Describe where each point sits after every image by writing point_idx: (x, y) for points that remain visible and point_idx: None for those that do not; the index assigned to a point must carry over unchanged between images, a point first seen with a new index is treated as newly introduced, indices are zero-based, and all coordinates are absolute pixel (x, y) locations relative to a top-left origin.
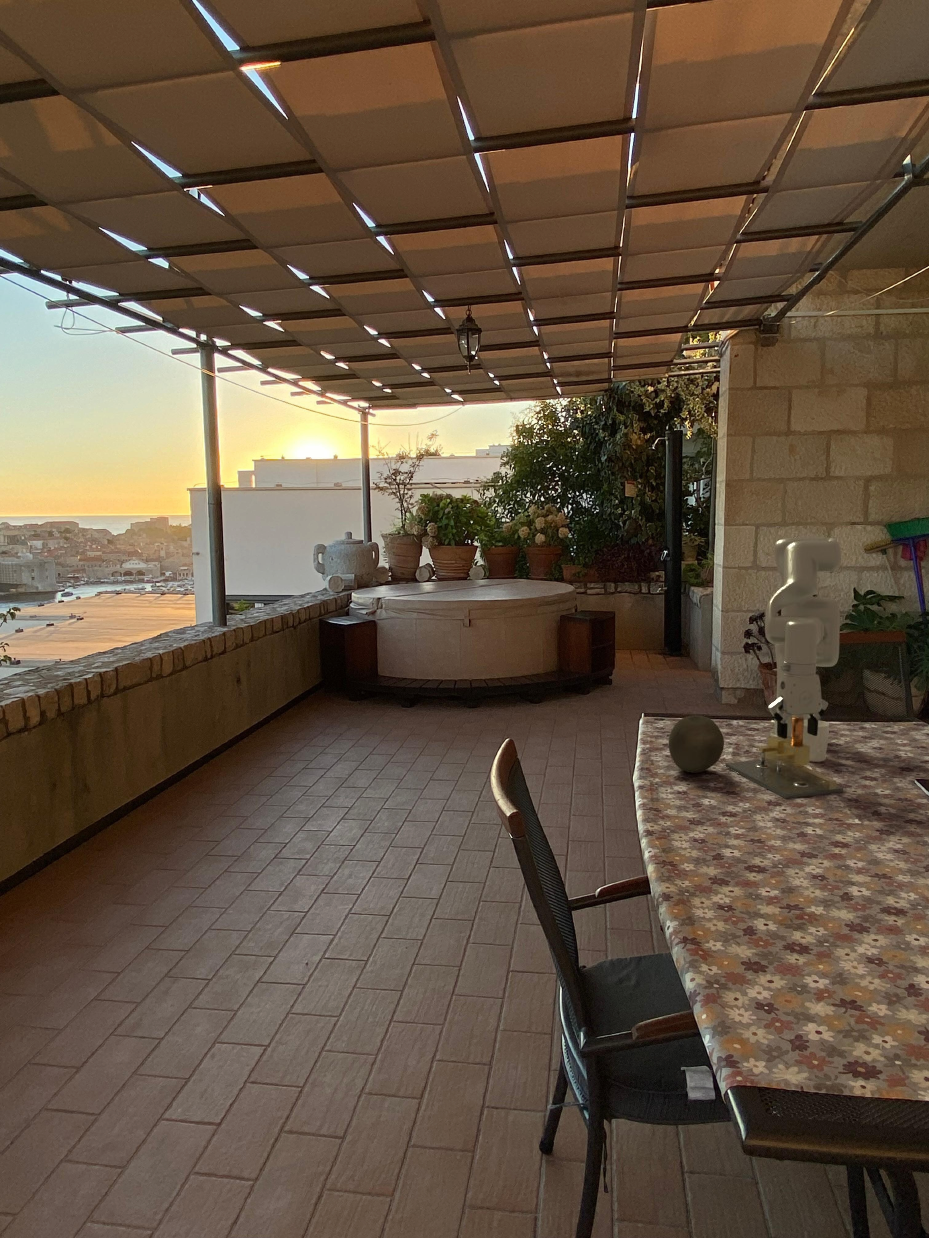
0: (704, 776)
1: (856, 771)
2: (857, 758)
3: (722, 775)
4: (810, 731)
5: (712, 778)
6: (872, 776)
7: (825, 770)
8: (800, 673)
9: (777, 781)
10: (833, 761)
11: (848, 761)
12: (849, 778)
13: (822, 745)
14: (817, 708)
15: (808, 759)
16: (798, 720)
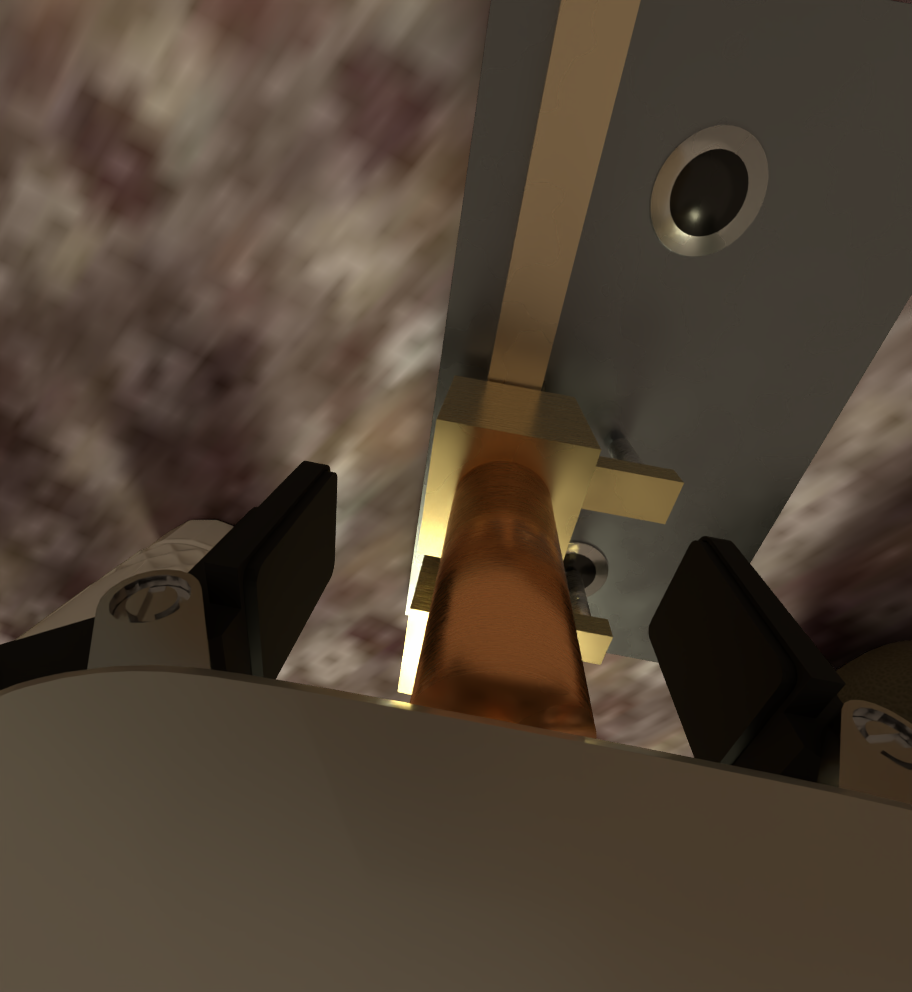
0: (904, 612)
1: (120, 315)
2: (8, 474)
3: (818, 586)
4: (324, 547)
5: (909, 578)
6: (72, 184)
7: (280, 410)
8: None
9: (768, 336)
10: (151, 494)
11: (76, 462)
12: (239, 224)
13: (153, 565)
14: (32, 792)
15: (457, 387)
16: (564, 673)
